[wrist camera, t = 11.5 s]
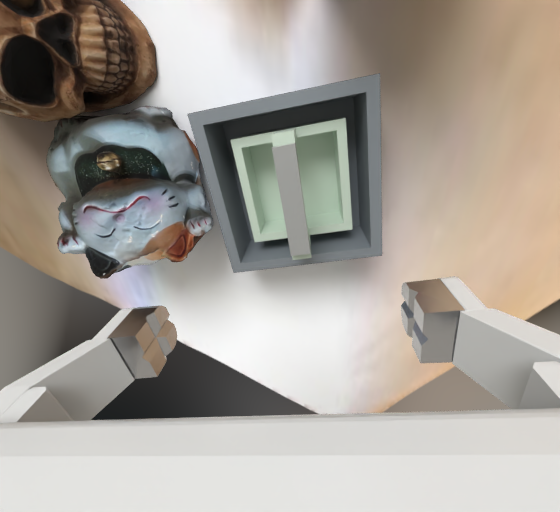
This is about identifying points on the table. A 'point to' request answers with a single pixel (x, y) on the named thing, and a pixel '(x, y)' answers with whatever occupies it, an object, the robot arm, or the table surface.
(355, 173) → the large crate
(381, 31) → the table surface
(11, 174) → the table surface
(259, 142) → the small crate
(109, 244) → the lucky cat figurine
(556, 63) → the table surface
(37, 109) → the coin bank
